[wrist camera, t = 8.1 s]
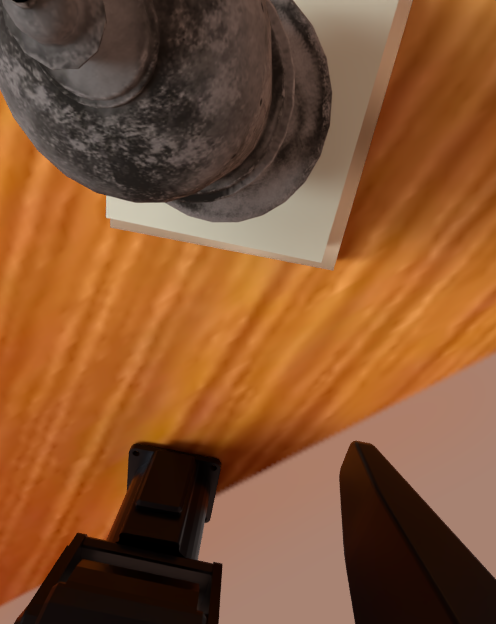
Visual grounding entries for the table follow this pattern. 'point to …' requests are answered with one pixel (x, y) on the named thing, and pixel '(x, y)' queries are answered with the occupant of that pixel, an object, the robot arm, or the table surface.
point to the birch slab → (352, 175)
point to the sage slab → (336, 151)
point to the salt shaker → (171, 98)
